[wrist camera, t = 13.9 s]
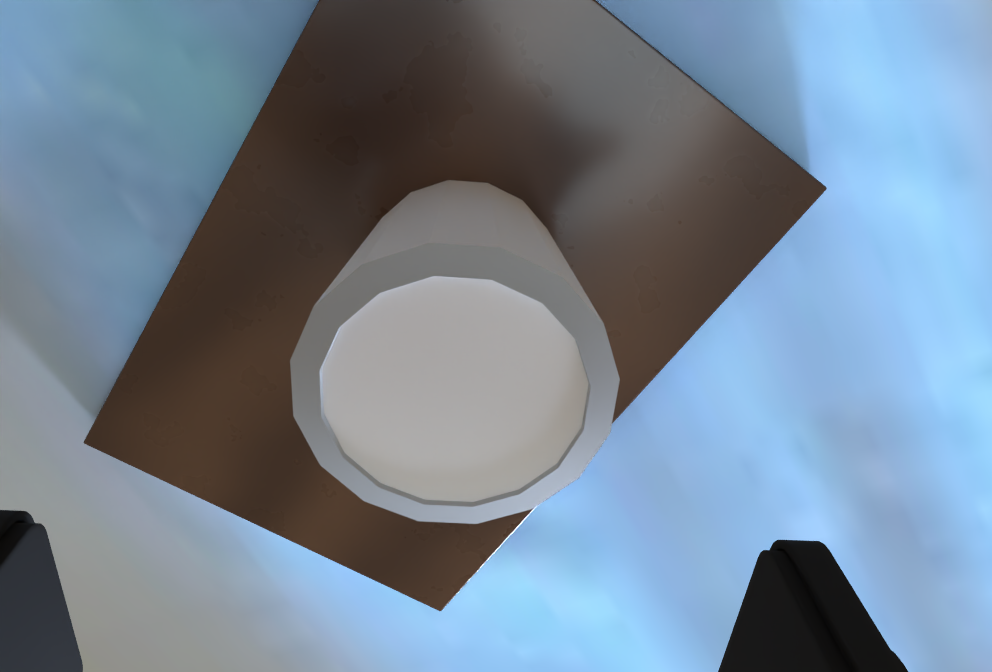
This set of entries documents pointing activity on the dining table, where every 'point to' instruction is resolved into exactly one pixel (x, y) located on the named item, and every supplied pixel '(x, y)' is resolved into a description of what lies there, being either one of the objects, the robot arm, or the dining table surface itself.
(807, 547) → the robot arm
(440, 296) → the white cup
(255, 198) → the board
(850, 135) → the dining table surface
